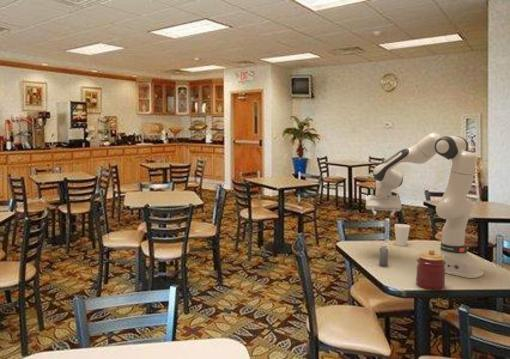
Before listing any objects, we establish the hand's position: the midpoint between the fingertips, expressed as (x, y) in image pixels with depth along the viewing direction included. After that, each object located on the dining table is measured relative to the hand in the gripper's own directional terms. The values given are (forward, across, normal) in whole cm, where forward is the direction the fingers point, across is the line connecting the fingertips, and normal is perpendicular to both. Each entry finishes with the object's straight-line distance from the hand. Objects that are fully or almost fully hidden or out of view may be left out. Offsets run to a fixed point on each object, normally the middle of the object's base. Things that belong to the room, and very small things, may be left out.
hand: (383, 215), depth 251 cm
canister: (+47, +20, -13) cm, 53 cm away
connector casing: (+27, 0, +8) cm, 28 cm away
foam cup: (-6, +16, +44) cm, 47 cm away
